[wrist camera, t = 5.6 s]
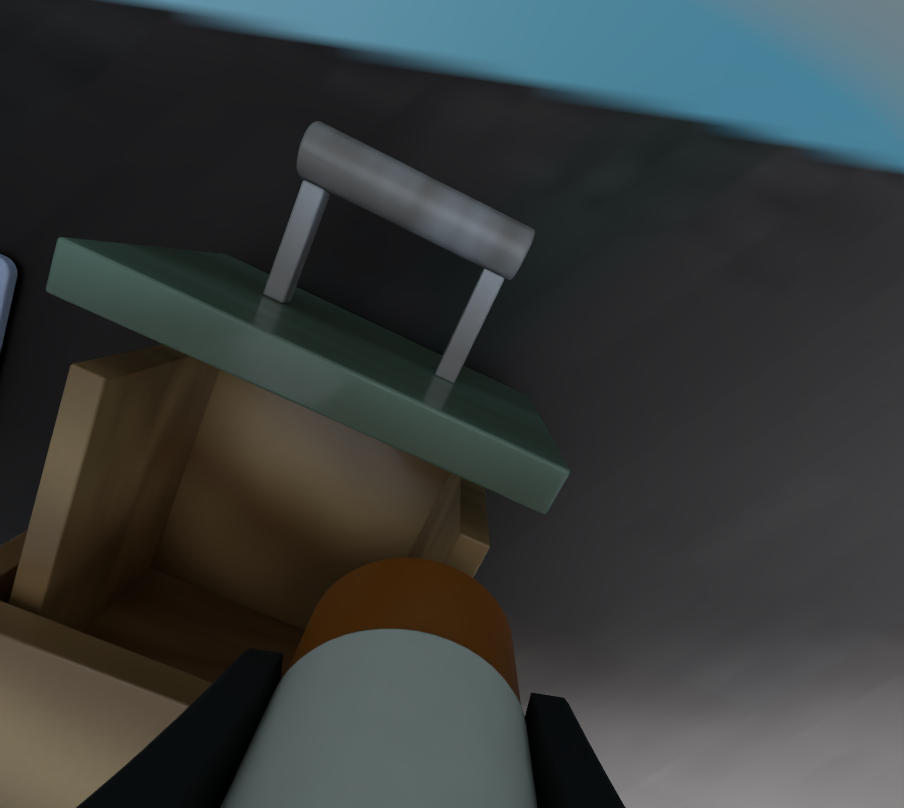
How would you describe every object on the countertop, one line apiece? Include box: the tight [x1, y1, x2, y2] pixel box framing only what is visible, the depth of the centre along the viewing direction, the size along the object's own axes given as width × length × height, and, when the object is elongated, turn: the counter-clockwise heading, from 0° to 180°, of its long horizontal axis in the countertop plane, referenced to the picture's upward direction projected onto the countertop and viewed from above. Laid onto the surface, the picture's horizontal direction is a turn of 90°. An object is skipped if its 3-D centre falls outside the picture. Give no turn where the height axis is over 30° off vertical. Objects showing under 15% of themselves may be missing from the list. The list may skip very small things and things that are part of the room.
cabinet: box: [0, 531, 213, 808], centre depth 17 cm, size 14×13×9 cm
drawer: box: [8, 121, 570, 682], centre depth 14 cm, size 17×11×7 cm
